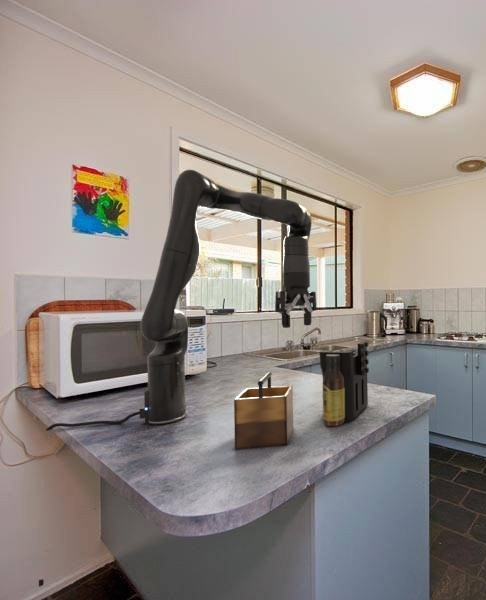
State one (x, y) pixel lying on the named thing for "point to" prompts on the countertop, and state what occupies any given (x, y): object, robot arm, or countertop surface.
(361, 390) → the black machined bracket
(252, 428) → the bottom basket
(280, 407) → the box
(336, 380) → the sauce bottle
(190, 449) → the countertop surface
